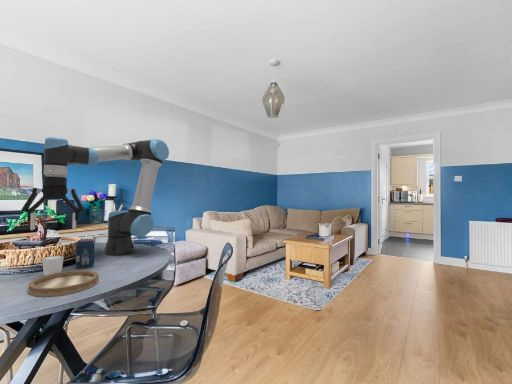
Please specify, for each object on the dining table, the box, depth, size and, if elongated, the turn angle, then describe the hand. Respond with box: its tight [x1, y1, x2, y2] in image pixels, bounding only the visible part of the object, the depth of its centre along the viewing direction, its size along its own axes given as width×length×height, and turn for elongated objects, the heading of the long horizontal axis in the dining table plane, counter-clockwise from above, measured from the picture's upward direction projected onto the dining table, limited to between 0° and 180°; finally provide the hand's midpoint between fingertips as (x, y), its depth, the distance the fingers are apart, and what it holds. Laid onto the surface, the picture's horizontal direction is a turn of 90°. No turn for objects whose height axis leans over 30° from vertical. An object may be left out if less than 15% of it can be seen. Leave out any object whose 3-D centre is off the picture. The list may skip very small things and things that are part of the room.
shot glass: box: [41, 255, 65, 276], centre depth 106 cm, size 7×7×7 cm
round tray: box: [28, 269, 100, 298], centre depth 95 cm, size 20×20×2 cm
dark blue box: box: [75, 238, 96, 270], centre depth 117 cm, size 7×7×12 cm
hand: (54, 229), depth 105 cm, fingers open, 13 cm apart
